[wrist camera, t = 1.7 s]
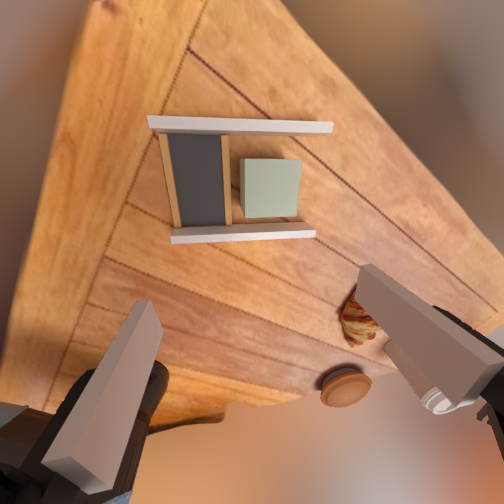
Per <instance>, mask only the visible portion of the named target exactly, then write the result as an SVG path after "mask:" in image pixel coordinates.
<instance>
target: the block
mask: <svg viewBox="0 0 504 504" xmlns="http://www.w3.org/2000/svg"><path fill="white" fill-rule="evenodd" d="M302 160H303V159H239V162H240V207H241V209H242V211H243V214H244V216H245V218H260V217H290V216H296V214H297V205H298V196H299V187H300V178H301V169H302Z"/></svg>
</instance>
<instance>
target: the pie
mask: <svg viewBox="0 0 504 504" xmlns="http://www.w3.org/2000/svg"><path fill="white" fill-rule="evenodd" d="M371 384H372V382H371V379H370V378H369V377H368V376H366V375H364V374H362V373H360V372H358V371H357V370H355V369H353V368H347V367H346V368H340V369H337V370H335V371H333V372H331V373H330V374H328V375H327V376H326V377H325V378H324V380H323V382H322V392H321V401H322V402H323V403H324V404H325V405H327V406H330V407H345V406H349V405H352V404H354V403H356V402H358V401H359V400H361V399H362V398H363V397H364V396H365V395H366V394H367V393H368V391H369V389H370V387H371Z"/></svg>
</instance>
